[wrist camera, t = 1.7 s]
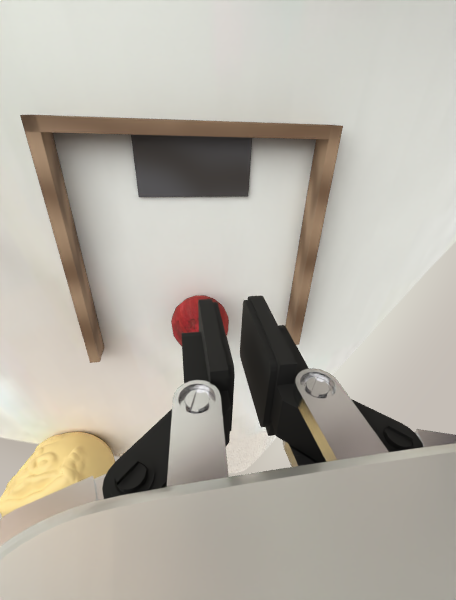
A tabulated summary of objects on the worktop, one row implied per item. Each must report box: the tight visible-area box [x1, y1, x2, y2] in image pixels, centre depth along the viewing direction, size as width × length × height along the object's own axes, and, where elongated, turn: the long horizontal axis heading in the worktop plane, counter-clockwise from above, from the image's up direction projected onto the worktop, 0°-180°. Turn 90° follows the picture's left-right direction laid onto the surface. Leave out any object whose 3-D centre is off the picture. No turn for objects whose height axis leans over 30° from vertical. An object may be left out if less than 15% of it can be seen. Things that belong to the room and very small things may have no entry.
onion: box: [171, 296, 229, 346], centre depth 31 cm, size 6×6×8 cm
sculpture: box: [0, 432, 115, 517], centre depth 39 cm, size 11×12×11 cm
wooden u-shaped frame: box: [20, 115, 343, 363], centre depth 30 cm, size 23×24×2 cm
